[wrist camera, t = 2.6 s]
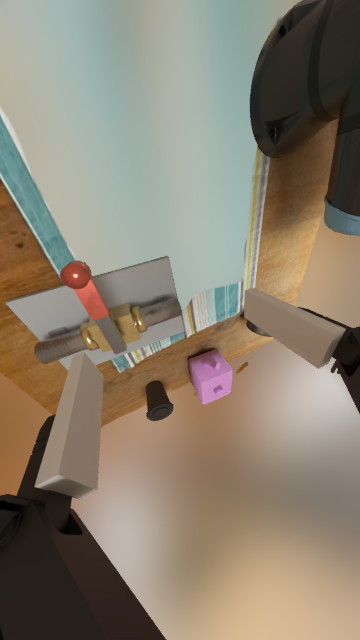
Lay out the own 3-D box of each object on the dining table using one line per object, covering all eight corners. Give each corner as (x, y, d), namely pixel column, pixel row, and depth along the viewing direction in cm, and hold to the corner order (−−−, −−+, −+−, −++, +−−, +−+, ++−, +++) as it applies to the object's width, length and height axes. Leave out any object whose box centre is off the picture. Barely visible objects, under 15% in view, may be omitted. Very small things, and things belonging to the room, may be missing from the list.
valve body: (38, 331, 31) (24, 350, 26) (171, 288, 36) (180, 298, 31) (58, 353, 35) (49, 374, 30) (176, 311, 40) (185, 323, 35)
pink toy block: (213, 373, 62) (233, 402, 51) (190, 382, 59) (205, 415, 49) (213, 333, 51) (238, 360, 40) (184, 343, 48) (203, 374, 38)
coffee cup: (153, 397, 56) (160, 426, 48) (136, 390, 51) (140, 421, 43) (170, 382, 55) (180, 409, 47) (154, 374, 50) (162, 402, 42)
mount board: (9, 299, 28) (5, 302, 27) (166, 256, 34) (168, 257, 33) (72, 369, 40) (71, 374, 38) (182, 328, 45) (184, 331, 44)
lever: (127, 339, 32) (129, 354, 28) (113, 344, 32) (113, 361, 28) (86, 256, 23) (81, 262, 19) (64, 261, 22) (54, 269, 19)
